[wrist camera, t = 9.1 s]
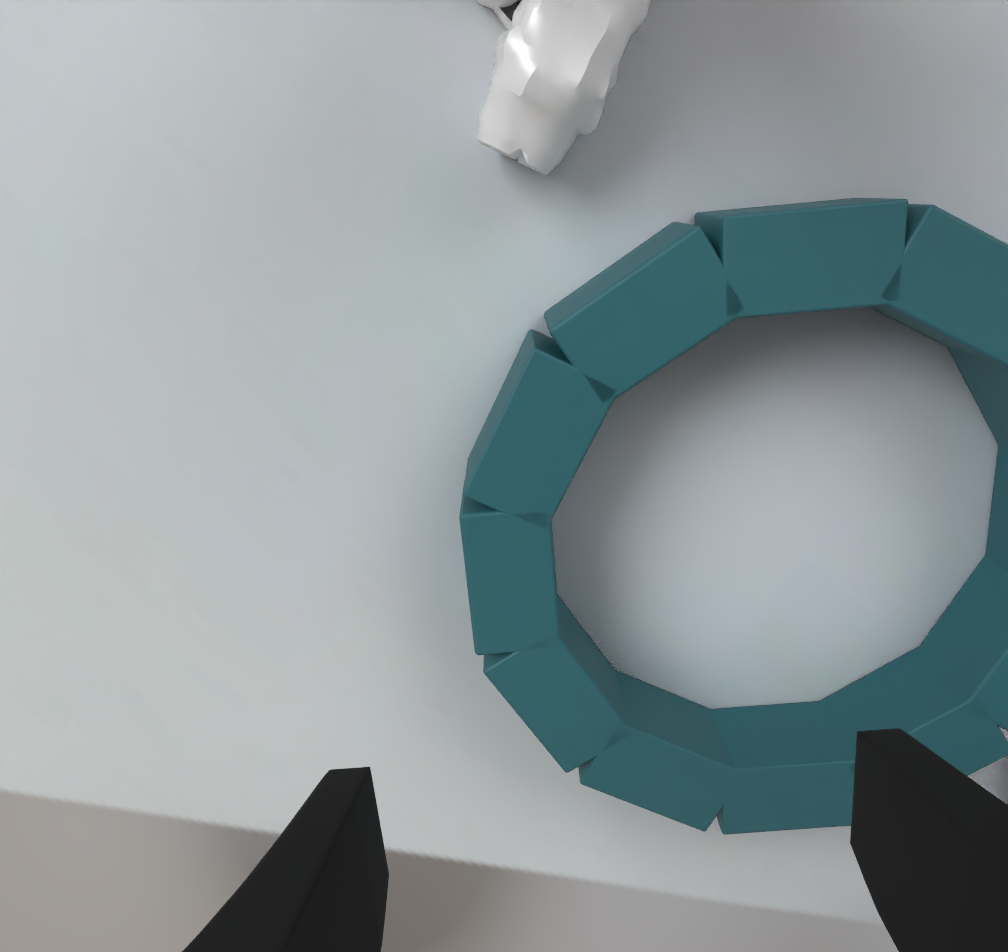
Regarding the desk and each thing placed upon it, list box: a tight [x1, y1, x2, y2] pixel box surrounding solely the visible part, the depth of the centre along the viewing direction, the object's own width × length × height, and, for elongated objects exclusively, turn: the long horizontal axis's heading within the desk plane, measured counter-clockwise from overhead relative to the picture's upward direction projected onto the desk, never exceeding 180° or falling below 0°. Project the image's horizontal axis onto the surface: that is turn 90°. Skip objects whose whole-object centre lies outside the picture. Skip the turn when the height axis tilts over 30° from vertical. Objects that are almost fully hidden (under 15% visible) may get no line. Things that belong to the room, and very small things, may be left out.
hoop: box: [460, 198, 1008, 834], centre depth 19 cm, size 15×15×2 cm
